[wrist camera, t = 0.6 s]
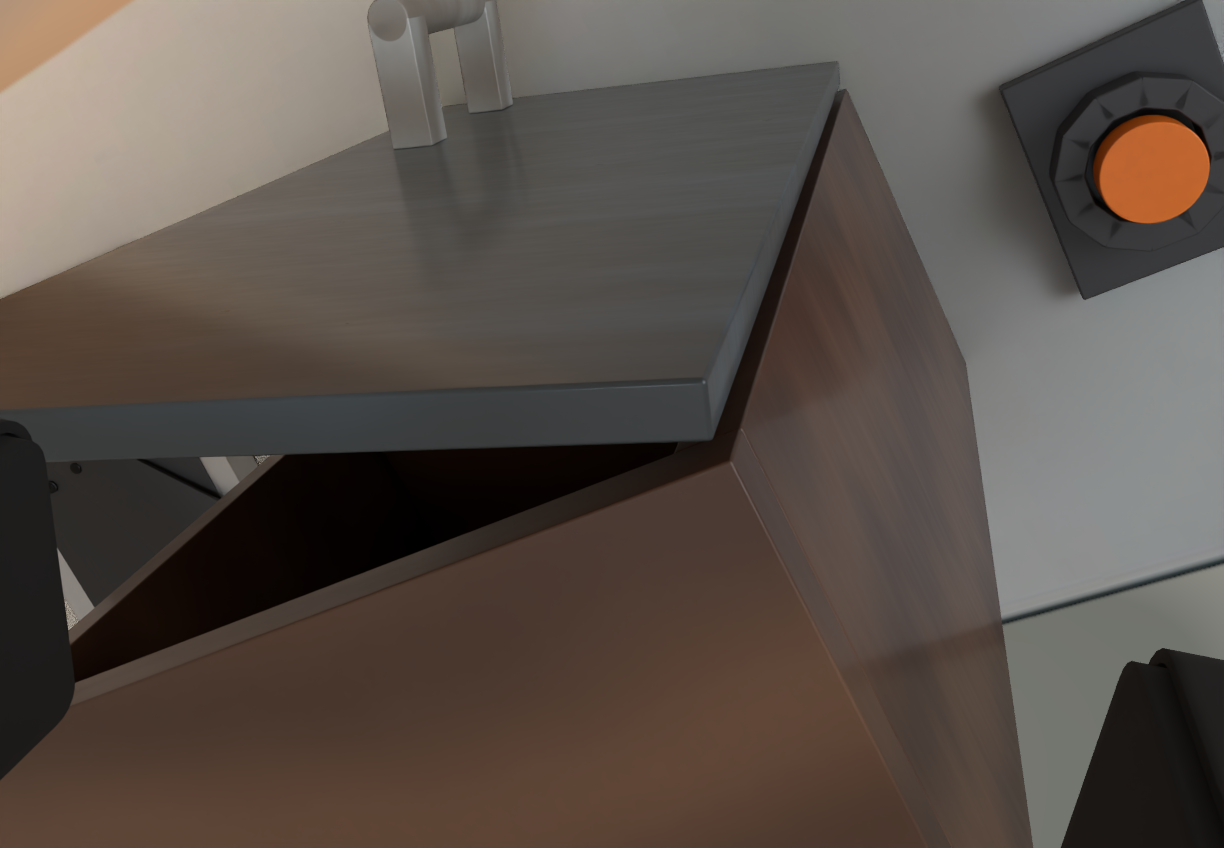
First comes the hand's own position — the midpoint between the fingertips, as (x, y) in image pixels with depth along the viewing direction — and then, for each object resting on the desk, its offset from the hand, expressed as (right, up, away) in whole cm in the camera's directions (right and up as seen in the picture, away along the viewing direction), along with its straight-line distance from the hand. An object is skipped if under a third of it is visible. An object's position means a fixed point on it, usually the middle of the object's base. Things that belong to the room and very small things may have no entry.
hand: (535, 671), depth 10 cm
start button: (+22, +13, +37) cm, 45 cm away
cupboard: (+6, +8, +46) cm, 47 cm away
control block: (+23, +14, +39) cm, 47 cm away
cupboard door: (+1, +20, +42) cm, 46 cm away
